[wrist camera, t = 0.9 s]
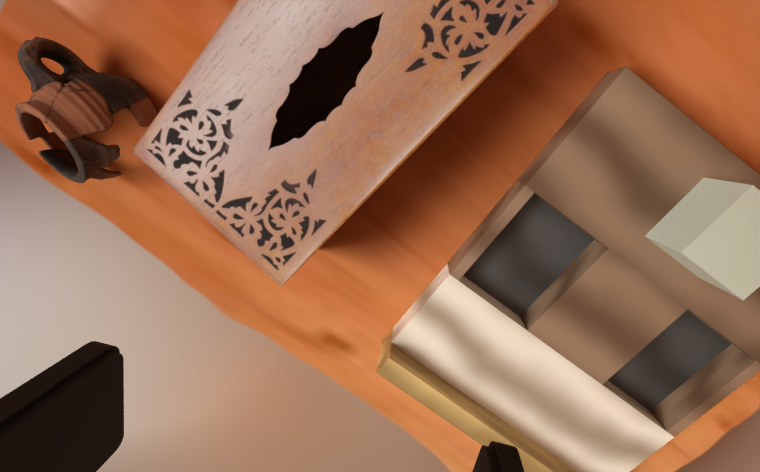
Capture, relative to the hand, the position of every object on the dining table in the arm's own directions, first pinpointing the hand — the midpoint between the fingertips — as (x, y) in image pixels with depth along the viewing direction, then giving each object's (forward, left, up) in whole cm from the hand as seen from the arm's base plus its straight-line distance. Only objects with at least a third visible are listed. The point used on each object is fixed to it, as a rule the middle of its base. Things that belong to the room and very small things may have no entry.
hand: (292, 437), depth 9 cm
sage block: (-15, +21, -25) cm, 36 cm away
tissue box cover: (-6, -9, -28) cm, 30 cm away
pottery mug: (+8, -27, -28) cm, 40 cm away
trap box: (-4, +21, -28) cm, 35 cm away
